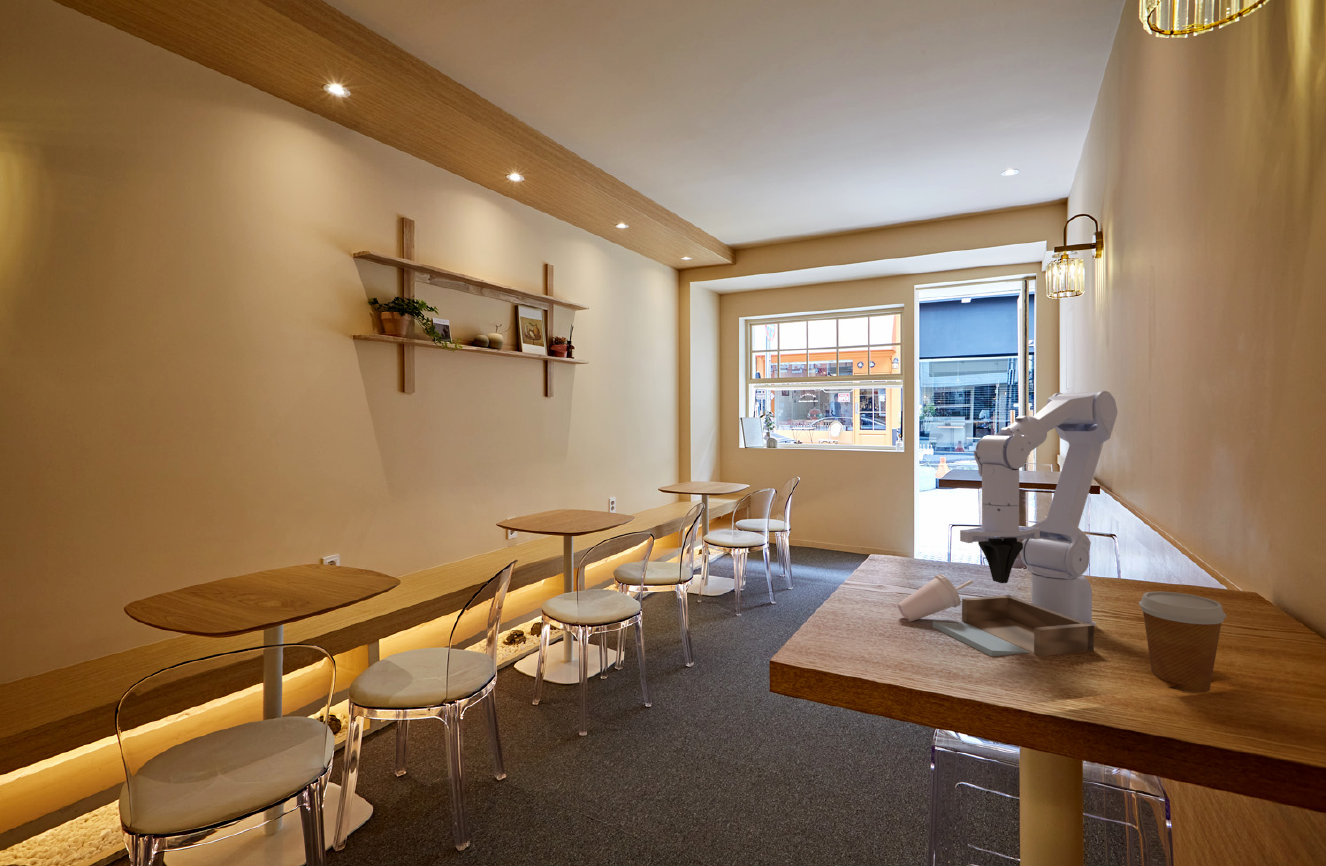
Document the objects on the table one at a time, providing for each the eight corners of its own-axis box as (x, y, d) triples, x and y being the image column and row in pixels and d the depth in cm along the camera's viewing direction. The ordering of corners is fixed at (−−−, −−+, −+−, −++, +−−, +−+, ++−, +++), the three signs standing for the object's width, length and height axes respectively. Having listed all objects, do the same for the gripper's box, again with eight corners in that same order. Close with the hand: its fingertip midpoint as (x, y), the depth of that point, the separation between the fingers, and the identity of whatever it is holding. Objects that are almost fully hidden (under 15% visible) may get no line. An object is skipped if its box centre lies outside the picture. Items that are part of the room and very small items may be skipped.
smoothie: (918, 631, 111) (987, 595, 112) (899, 597, 112) (967, 562, 113) (906, 627, 117) (972, 593, 118) (889, 595, 119) (953, 562, 119)
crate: (1008, 621, 116) (1009, 595, 116) (1093, 656, 99) (1093, 625, 99) (962, 625, 114) (962, 598, 114) (1040, 662, 97) (1040, 630, 97)
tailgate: (966, 623, 112) (932, 621, 111) (1029, 652, 98) (991, 650, 97) (966, 629, 112) (932, 627, 111) (1029, 658, 98) (991, 656, 97)
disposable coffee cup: (1121, 671, 93) (1122, 591, 93) (1181, 669, 94) (1181, 589, 93) (1180, 700, 83) (1180, 610, 83) (1245, 696, 84) (1246, 608, 84)
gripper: (1018, 499, 114) (1018, 573, 114) (948, 502, 111) (948, 578, 111) (1049, 504, 107) (1049, 583, 107) (976, 507, 104) (976, 588, 104)
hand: (1000, 581), depth 109 cm, fingers closed
